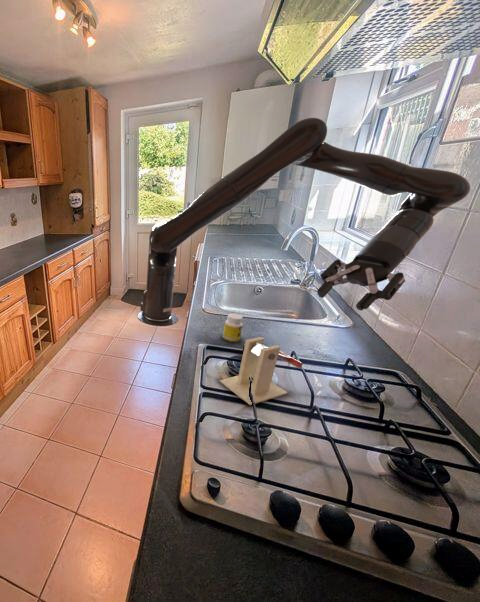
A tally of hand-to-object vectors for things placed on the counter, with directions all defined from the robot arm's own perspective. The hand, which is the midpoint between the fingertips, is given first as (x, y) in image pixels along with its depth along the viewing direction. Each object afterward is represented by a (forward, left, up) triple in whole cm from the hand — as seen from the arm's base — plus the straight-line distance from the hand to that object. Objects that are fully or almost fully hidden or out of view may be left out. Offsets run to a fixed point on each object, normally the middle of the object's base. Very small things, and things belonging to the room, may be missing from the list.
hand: (338, 301), depth 72 cm
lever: (-8, -17, -11) cm, 22 cm away
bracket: (-10, -21, -19) cm, 30 cm away
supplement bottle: (-22, 0, -19) cm, 29 cm away
